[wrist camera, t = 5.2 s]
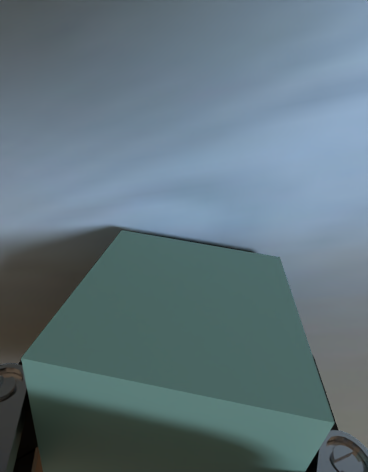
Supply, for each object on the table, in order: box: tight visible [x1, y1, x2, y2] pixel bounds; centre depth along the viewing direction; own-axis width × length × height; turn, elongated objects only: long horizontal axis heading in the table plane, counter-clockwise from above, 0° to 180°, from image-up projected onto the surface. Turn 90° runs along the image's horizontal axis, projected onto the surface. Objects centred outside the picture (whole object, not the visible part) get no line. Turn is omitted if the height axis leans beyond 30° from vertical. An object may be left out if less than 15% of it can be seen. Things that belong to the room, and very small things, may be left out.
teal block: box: [21, 230, 335, 472], centre depth 9 cm, size 6×6×6 cm
